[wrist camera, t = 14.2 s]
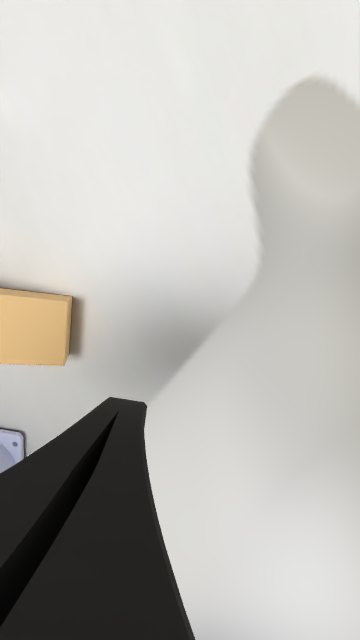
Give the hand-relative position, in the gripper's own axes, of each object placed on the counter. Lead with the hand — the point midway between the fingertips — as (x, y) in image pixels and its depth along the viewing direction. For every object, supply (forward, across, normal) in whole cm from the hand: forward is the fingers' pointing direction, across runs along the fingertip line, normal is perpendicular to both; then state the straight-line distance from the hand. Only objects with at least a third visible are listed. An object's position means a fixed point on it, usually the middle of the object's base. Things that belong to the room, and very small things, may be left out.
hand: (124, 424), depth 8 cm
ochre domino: (+9, +7, 0) cm, 12 cm away
